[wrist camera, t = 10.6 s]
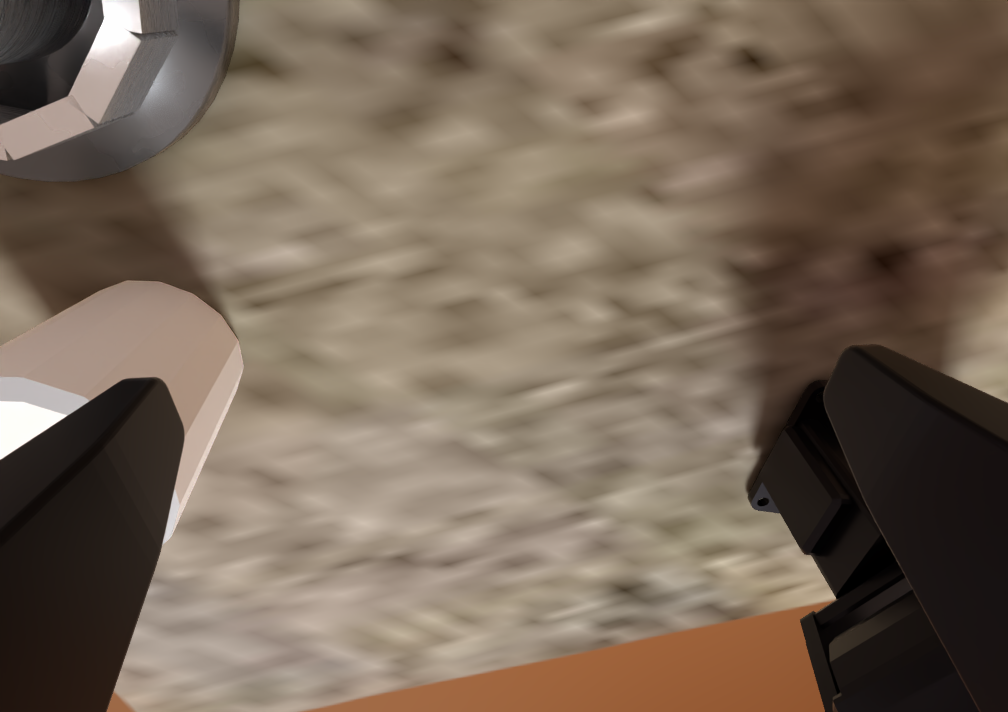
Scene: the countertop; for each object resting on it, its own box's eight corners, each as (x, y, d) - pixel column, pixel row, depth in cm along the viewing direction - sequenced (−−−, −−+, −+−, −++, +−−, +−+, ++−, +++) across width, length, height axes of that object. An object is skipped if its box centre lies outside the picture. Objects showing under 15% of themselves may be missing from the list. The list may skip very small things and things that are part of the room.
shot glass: (117, 437, 24) (-8, 588, 18) (19, 278, 20) (-179, 399, 14) (287, 414, 23) (218, 560, 17) (217, 247, 20) (100, 358, 14)
